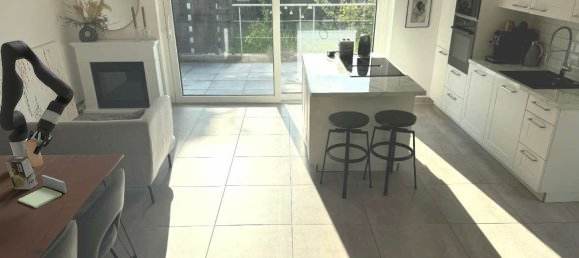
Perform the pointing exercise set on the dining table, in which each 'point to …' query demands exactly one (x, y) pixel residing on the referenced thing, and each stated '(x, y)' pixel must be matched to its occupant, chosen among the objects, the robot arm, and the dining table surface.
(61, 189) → the low wall
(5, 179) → the dining table surface
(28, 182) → the coffee box
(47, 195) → the pad
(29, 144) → the peach rounded cylinder
